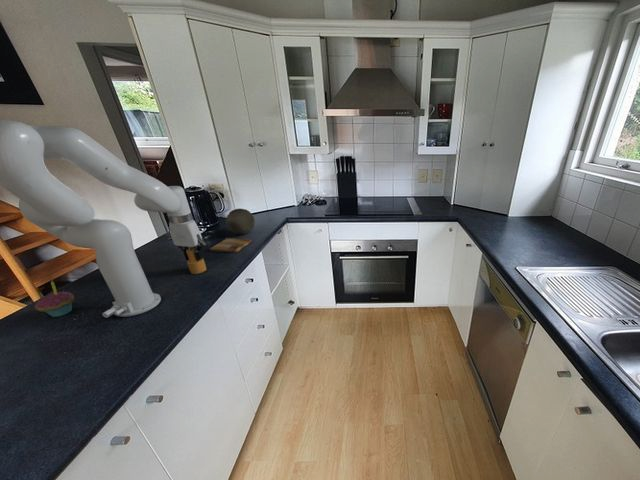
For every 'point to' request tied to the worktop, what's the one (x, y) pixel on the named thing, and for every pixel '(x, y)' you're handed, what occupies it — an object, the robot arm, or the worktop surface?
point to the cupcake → (55, 303)
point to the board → (230, 245)
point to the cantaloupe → (240, 221)
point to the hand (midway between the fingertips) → (194, 258)
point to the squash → (195, 262)
